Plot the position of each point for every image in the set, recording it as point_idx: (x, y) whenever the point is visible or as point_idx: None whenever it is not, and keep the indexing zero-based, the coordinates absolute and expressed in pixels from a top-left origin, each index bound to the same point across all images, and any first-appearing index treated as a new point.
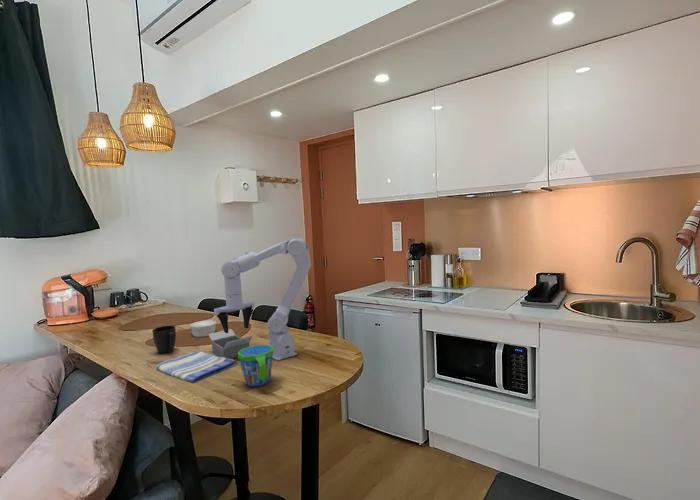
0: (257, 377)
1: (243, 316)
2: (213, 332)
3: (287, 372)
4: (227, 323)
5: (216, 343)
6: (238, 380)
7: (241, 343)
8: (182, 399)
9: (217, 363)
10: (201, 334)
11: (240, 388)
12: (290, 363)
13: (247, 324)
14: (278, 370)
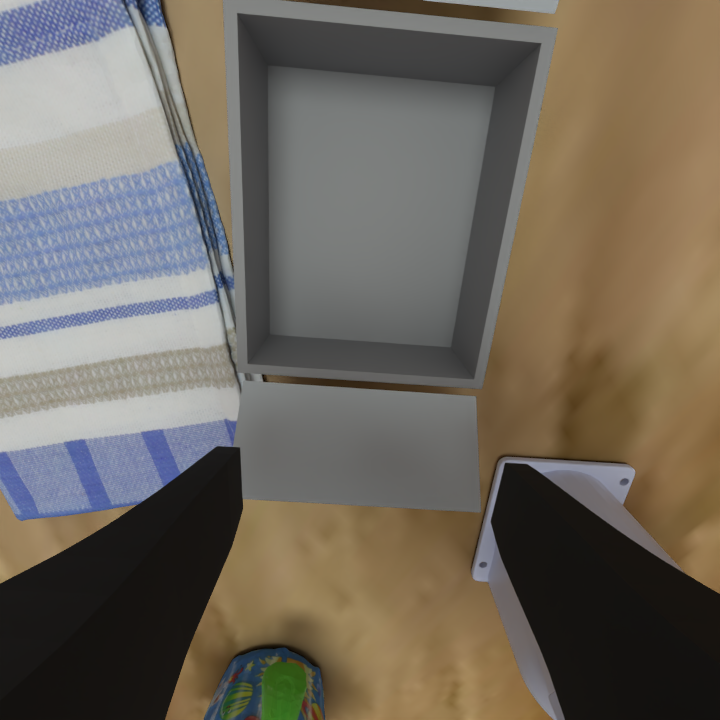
0: None
1: (617, 593)
2: None
3: (406, 679)
4: (177, 670)
5: (286, 32)
6: (220, 617)
7: (395, 416)
8: None
9: (182, 426)
10: None
11: (199, 671)
12: (482, 627)
13: (518, 580)
14: (396, 646)
